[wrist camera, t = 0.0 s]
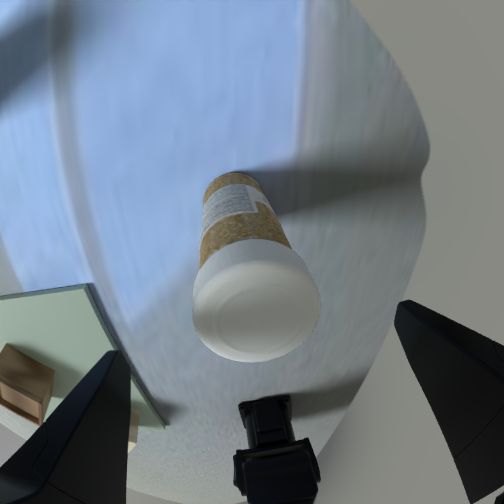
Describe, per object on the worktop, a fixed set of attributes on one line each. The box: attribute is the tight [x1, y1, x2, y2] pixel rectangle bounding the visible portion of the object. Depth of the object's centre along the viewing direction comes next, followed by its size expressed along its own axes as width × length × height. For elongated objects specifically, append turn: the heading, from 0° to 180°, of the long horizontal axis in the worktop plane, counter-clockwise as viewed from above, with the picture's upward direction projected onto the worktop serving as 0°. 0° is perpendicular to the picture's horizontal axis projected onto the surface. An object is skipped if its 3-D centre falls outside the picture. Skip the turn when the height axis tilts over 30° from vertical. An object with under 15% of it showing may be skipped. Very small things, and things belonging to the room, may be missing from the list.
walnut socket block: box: [0, 343, 55, 426], centre depth 25 cm, size 7×7×5 cm
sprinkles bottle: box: [193, 173, 321, 362], centre depth 16 cm, size 5×5×14 cm
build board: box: [0, 284, 165, 430], centre depth 28 cm, size 24×22×1 cm
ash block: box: [128, 407, 140, 453], centre depth 29 cm, size 5×5×5 cm
